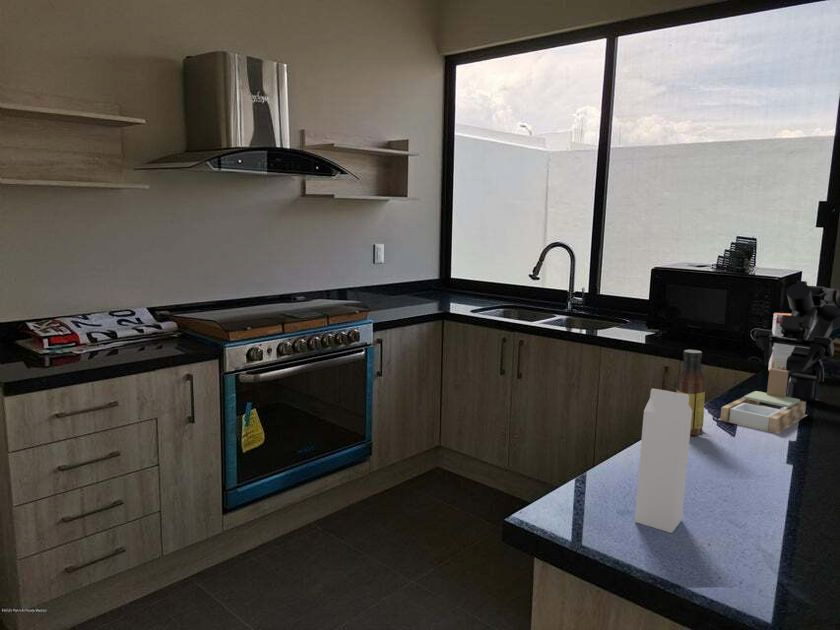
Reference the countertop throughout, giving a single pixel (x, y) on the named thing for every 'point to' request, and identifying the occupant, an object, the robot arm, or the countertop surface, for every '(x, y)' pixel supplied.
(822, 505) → the countertop surface
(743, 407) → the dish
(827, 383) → the countertop surface
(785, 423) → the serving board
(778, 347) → the cracker box
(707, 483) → the countertop surface
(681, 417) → the milk
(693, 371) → the sauce bottle
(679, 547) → the countertop surface
